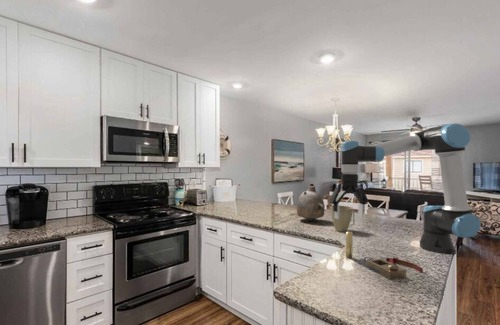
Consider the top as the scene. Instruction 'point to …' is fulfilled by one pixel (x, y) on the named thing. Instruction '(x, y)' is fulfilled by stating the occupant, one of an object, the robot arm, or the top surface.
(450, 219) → the robot arm
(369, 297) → the top surface
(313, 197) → the jug
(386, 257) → the pliers
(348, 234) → the brass pin
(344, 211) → the plant pot
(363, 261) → the chain end
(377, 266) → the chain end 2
